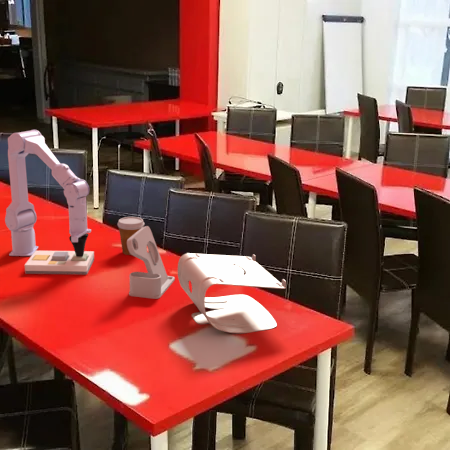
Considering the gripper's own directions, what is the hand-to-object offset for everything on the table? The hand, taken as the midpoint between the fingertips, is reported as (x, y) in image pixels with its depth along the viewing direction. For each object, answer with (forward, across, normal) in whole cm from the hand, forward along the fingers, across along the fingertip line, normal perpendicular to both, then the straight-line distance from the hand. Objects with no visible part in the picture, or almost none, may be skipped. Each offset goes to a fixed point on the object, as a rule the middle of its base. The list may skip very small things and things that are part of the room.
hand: (79, 255), depth 216 cm
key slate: (+1, 0, +6) cm, 7 cm away
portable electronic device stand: (+4, -36, -49) cm, 61 cm away
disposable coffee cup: (+4, +15, -16) cm, 22 cm away
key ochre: (+3, 0, +13) cm, 13 cm away
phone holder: (+4, -17, -26) cm, 31 cm away
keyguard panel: (+4, 0, +6) cm, 8 cm away
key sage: (+2, 0, 0) cm, 2 cm away
